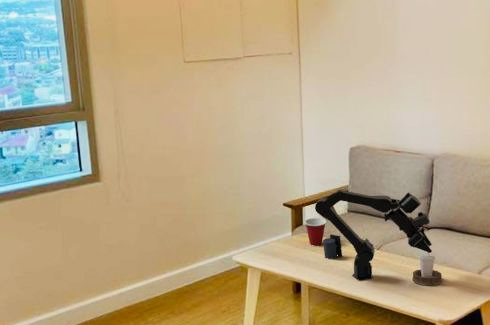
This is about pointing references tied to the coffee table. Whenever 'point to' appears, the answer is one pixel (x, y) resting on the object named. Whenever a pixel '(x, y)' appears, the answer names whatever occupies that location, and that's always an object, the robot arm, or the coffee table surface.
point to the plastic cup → (315, 230)
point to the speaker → (332, 246)
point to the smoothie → (426, 264)
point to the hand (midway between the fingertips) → (431, 248)
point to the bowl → (425, 281)
